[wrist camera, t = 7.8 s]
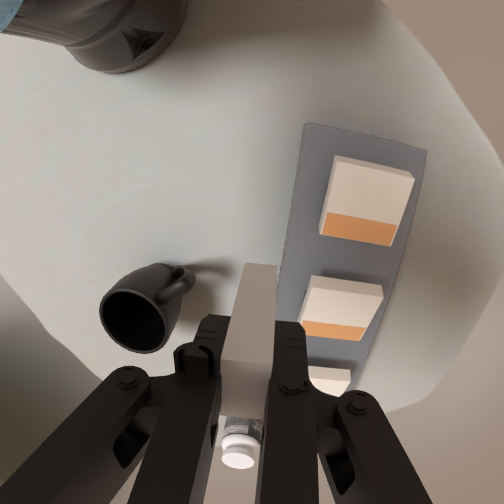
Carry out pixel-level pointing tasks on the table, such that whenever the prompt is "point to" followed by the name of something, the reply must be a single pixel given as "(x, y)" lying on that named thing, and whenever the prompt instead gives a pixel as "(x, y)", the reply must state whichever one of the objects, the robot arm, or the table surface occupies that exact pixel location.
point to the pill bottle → (241, 441)
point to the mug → (145, 306)
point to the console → (339, 249)
